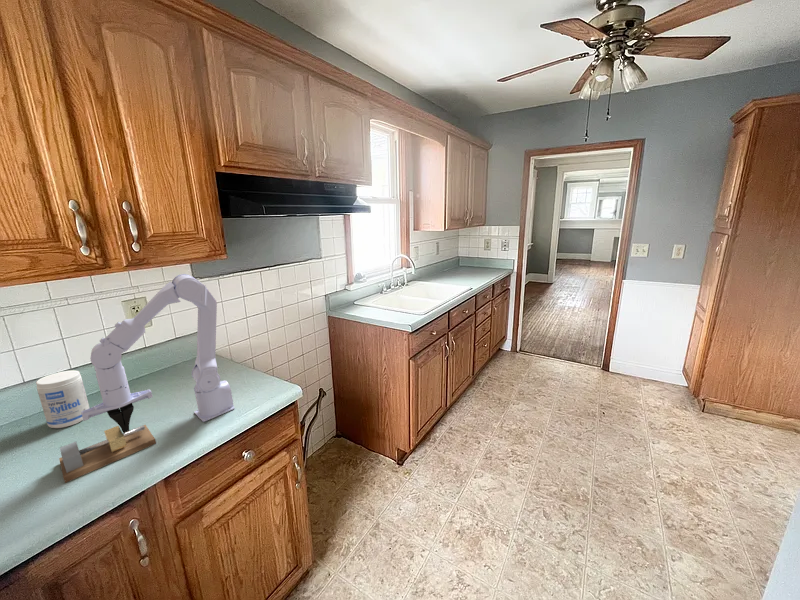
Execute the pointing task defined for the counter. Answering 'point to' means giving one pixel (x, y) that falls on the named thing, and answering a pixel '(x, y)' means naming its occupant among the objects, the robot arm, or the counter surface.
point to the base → (101, 453)
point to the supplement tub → (62, 398)
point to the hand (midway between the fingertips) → (125, 430)
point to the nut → (115, 438)
